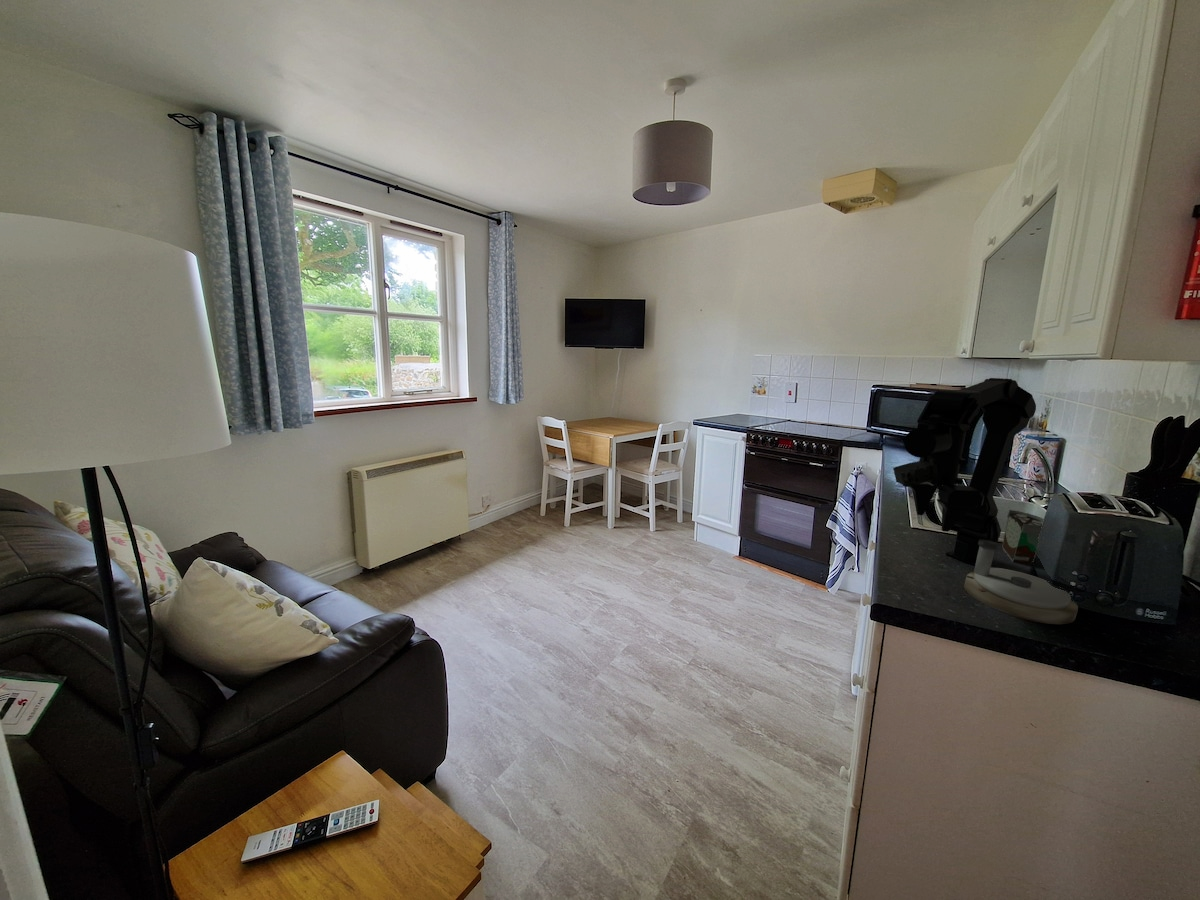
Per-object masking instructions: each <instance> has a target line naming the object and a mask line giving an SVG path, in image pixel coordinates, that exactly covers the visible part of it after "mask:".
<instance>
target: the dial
mask: <svg viewBox="0 0 1200 900" xmlns="http://www.w3.org/2000/svg"><path fill="white" fill-rule="evenodd" d="M978 545H979V551H978V555H977V560H976V564H975V565H974V570H973V572H974V573H975V575H974V580H975V582H976V583H977V584H978V585H979V586H981V587H982V588H984V589H985V590H987V591H989V592H991V593H993V594H995V595H997V596H1000V597H1002V598H1005V599H1008V600H1011V601H1014V602H1017V603H1020V604H1024V605H1028V606H1033V607H1038V608H1044V609H1064V608H1066V607H1068V606H1069V604H1070V600H1071V599H1072V597H1071V595H1070V594H1069V592H1067V591H1066V590H1065V589H1064V590H1065V591H1064V590H1061V589H1058V588H1055V587H1053V586H1051V585H1050V584H1049V583H1048V582H1049V581H1048V580H1045V579H1043V578H1040V577H1038V576H1035V575H1032V574H1028V573H1026V572H1022V571H1017V570H1012V569H1006V568H1001V567H992V563H993V559H994V554H995V550H997V549H998V546H999V544H998V542H993V541H989V540H982V539H981V540H979V542H978ZM1047 581H1048V582H1047Z"/></svg>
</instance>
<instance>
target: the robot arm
mask: <svg viewBox="0 0 1200 900" xmlns="http://www.w3.org/2000/svg"><path fill="white" fill-rule="evenodd" d="M1035 401H1036V400H1035V399H1034V396H1033V394H1031V393H1030V392H1028V391H1027V390H1025V389H1024V388H1022V387H1020V386H1019V384H1018V382H1017V380H1015V379H1014V380H1013V378H1003V377H1002V378H1000V377H999V378H998V377H990V378H986V379H984V380H983V381H981V382H978V383H976V384H973V385H970V386H968V387H965V388H962V389H939V390H936V391H935V392H934V393H933V394H932V395H931V396H930V397H929V399H928V400H927V403H925V406H924V407H923V409H922V410H921V413H920V415H919V416H918V418H917V420H916V421H917V427H916V428H914V429H911V430H910V431H909V432H908V433H907V434H906V435H905V437H904V438H903V446H904V448H905V451H907V453H908V454H910V455H911V456H913V457H916V458H919V460H917V461H913V462H909V463H906V464H901V465H898V466H894V467H893V468H892V470H893V473H894V478H895V481H896V483H897V484H901V486H903V487H905V488H908V487H909V488H910V489H911V492H912V496H913V500H914V505H915V511H916V515H917V516H924V514H925V512H926V511H927V509H928V507H929V504H930V503H931V501H932V499H933V497H934V495H935V494H936V491H937V490H938V491H937V495H938V498H939V499H938V498H936V501H937V502H938V504H939V505H940V506H941V507H942V509H941V510H942V511H941V531H942V532H949V531H951V532H952V531H953V532H955V533H956V536H955V541H954V546H953V548H952V549H953V550H950V551H946V552H945V555H946V556H948V557H951V558H953V559H956V560H959V561H961V562H964V563H967V564H969V565H973V566H975V564H976V560H977V555H978V551H979V545H978V542H979V540H981V539H982V540H989V541H993V542H995V543H998V542H999V540H1000V537H1001V533H1002V529H1001V525H1000V522H999V519H998V513H999V509H998V507H997V504H996V501H995V499H994V494H995V492H996V489H997V486H998V484H999V482H1000V477H1001V475H1002V472H1003V468H1004V466H1005V463H1006V460H1007V458H1008V457H1007V456H1008V454H1009V450H1010V449H1011V445H1012V443H1013V442H1012V441H1013V439H1014V437H1015V436H1016V435H1017V434H1019V433H1020V432H1021V431H1023V430H1025V428H1027V426H1028V425H1029V422H1030V420H1031V419H1032V418H1033V417H1034V415H1035V414H1036V410H1037V403H1036V402H1035ZM980 410H981V411H982V412H983V413H982V417H981V418H982V421H983V424H984V426H985V428H986V434H985V436H984V439H983V443H982V446H981V448H980V451H979V455H978V458H977V461H976V464H975V466H974V469H973V472H972V476H971V477H970V478H971V479H970V481H969V485H962V484H963V479H962V478H960V477H959V473H960V467H961V466H962V465H964V466H965V465H966V464H967V459H965V458H963V457H962V456H963V451H964V445H965V440H966V436H967V431H968V430H970V429H971V426H970V425H971V423H972V421H973V420H974V419H975V417H976V416H978V414H979V412H980Z"/></svg>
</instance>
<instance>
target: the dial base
mask: <svg viewBox="0 0 1200 900" xmlns="http://www.w3.org/2000/svg"><path fill="white" fill-rule="evenodd" d="M974 575H975V573H974V571H973V572H969V573H967V575H966V578H965V582H964V585H963V586H964V589H965V592H967V594H969V595H970V596H971V597H972V598H974V599H975V600H976V601H978V602H980V603H981V604H983V605H986V606H987V607H990V608H991V609H994V610H996V611H999V612H1000V613H1004V614H1006V615H1007V614H1008V615H1010V616H1012V617H1016V618H1019V619H1022V620H1027V621H1031V622H1036V623H1040V624H1041V623H1042V624H1050V625H1066V624H1071V623H1073V622H1075V621H1076V617H1077V614H1078V610H1079V607H1078V604H1077V603H1076V602H1075V601H1074V600H1073V599H1072V600H1073V601H1072V600H1070V604H1069V606H1068V607H1066V608H1064V609H1044V608H1038V607H1033V606H1028V605H1024V604H1020V603H1017V602H1014V601H1011V600H1008V599H1005V598H1002V597H1000V596H997V595H995V594H993V593H991V592H989V591H987V590H985V589H984V588H982V587H981V586H979V585H978V584H977V583H976V582H975V580H974Z"/></svg>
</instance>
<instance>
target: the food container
mask: <svg viewBox="0 0 1200 900" xmlns="http://www.w3.org/2000/svg"><path fill="white" fill-rule="evenodd" d="M1043 520H1044V518H1043V517H1040V516H1038V515H1034V514H1032V513H1027V512H1025V511H1024V512H1023V511H1019V510H1014V509H1013V510H1012V509H1009V510H1008V513H1007V521H1006V525H1005V531H1004V535H1003V541H1002V545H1001V546H1002V547H1001V549H1002V548H1003V549H1002V550H1003V551H1004V552H1005V554H1006V553H1007V554H1006V555H1007V557H1008V558H1009V557H1010V558H1009V559H1010V560H1011V561H1013V562H1012V563H1016V562H1018V563H1017V564H1025V563H1028V564H1032V563H1031V562H1032V561H1033V559H1034V555H1035V551H1036V547H1037V543H1038V537H1039V534H1040V531H1041V527H1042V523H1043Z"/></svg>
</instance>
